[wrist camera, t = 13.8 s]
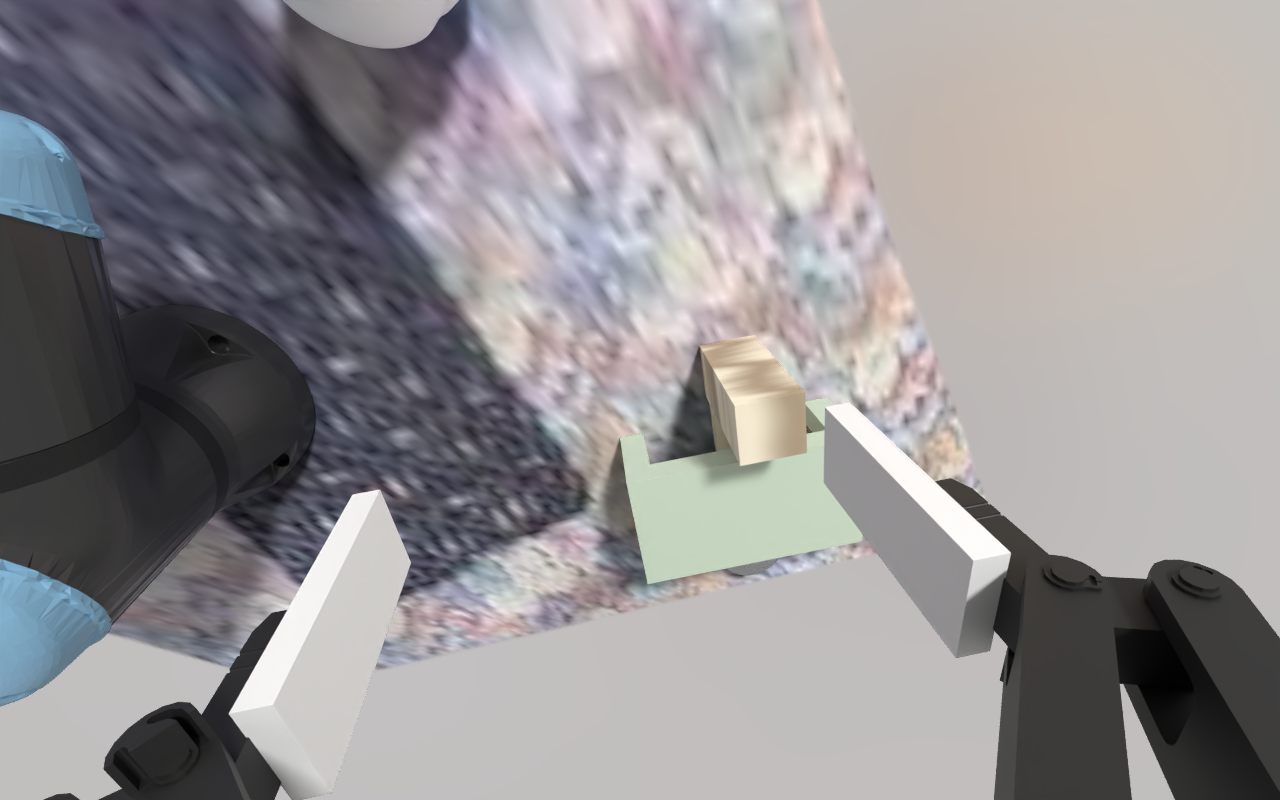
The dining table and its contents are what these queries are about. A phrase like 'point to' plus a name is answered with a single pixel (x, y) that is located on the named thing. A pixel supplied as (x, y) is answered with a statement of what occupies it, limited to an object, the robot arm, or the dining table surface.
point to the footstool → (732, 506)
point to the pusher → (752, 401)
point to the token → (752, 567)
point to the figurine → (374, 19)
